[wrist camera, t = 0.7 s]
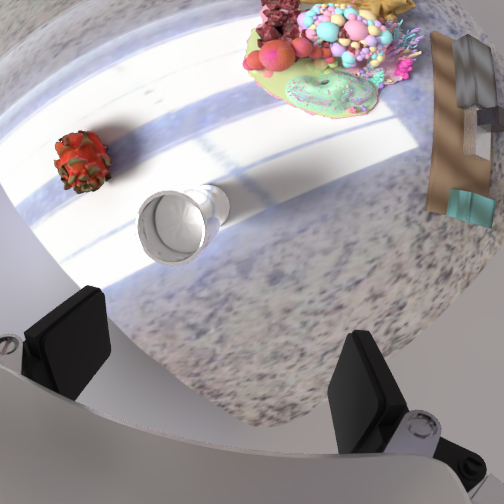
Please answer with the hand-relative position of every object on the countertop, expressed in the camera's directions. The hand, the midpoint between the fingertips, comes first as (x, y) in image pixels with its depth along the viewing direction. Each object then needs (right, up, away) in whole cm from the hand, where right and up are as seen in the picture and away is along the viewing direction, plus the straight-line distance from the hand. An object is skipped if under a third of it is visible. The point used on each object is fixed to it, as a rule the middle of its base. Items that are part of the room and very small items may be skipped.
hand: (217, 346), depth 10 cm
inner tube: (+34, +26, +18) cm, 47 cm away
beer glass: (-5, +9, +28) cm, 30 cm away
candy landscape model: (+13, +33, +21) cm, 41 cm away
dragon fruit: (-23, +17, +27) cm, 39 cm away
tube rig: (+34, +23, +21) cm, 46 cm away
